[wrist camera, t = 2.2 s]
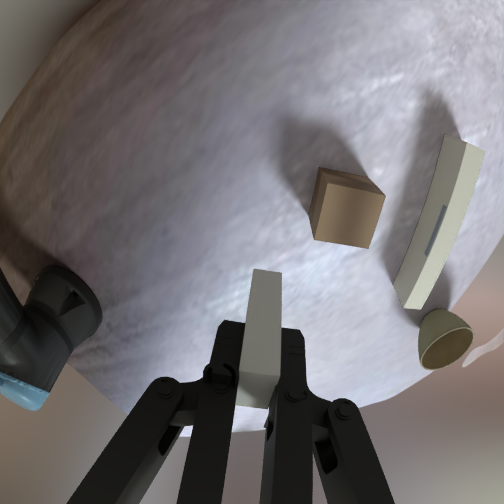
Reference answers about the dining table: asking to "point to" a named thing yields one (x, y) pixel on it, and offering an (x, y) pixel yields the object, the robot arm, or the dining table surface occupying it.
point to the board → (439, 220)
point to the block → (345, 208)
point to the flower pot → (443, 339)
